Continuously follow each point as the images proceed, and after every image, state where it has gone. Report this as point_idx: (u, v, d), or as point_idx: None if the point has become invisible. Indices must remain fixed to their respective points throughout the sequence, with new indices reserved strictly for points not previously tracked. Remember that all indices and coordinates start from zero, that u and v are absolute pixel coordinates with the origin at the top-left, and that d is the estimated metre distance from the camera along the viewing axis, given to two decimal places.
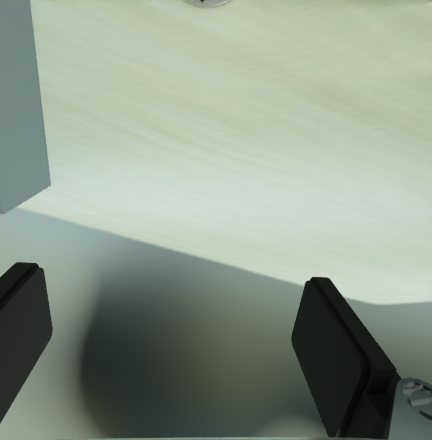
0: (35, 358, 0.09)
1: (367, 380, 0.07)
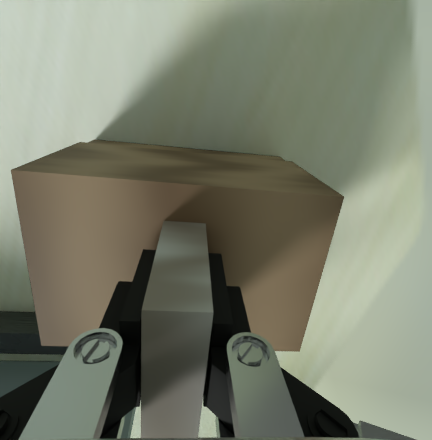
0: None
1: (211, 335, 0.08)
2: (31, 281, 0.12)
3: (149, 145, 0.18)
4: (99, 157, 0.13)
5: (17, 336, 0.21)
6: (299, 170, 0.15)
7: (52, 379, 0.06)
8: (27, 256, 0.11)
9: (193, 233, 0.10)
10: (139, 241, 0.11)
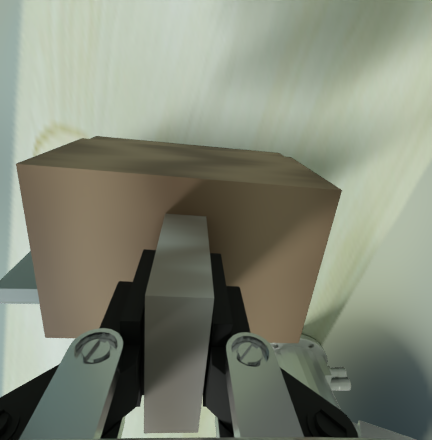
0: None
1: (210, 335, 0.08)
2: (35, 273, 0.12)
3: (150, 141, 0.19)
4: (101, 152, 0.13)
5: None
6: (298, 165, 0.15)
7: (53, 379, 0.06)
8: (31, 249, 0.11)
9: (194, 225, 0.10)
10: (141, 234, 0.11)
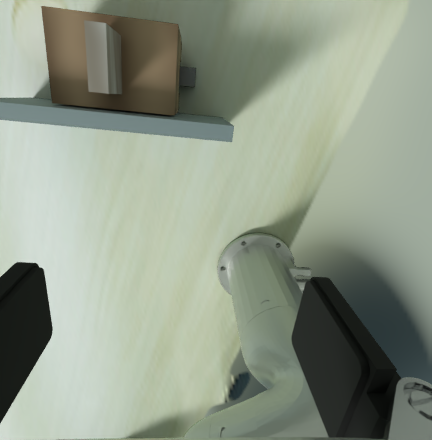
0: (35, 358, 0.09)
1: (367, 380, 0.07)
2: (48, 63, 0.27)
3: None
4: None
5: None
6: None
7: None
8: (46, 50, 0.27)
9: None
10: None
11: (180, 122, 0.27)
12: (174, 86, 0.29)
